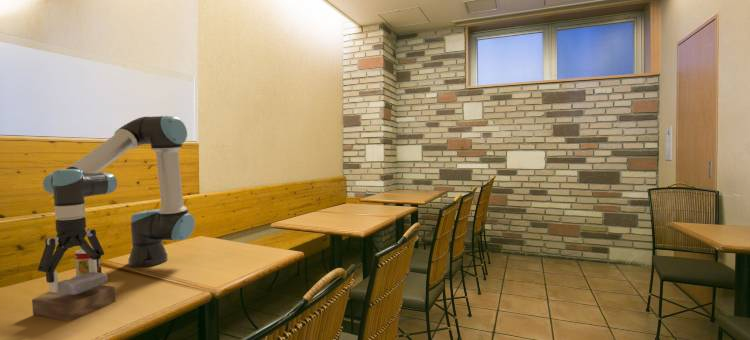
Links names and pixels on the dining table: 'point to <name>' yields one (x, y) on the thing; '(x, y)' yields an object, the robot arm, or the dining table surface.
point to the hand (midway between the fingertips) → (74, 284)
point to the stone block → (81, 283)
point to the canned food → (84, 262)
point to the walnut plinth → (73, 303)
